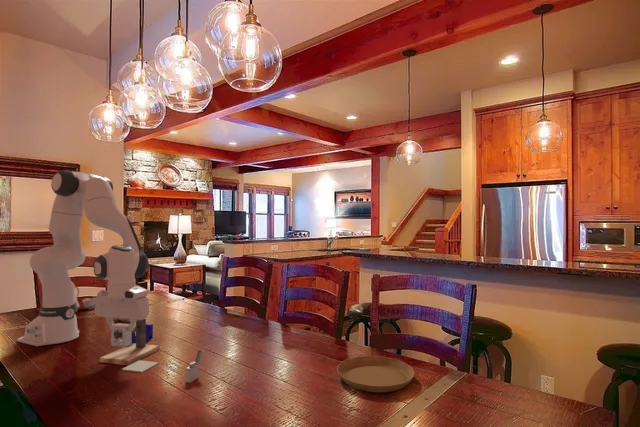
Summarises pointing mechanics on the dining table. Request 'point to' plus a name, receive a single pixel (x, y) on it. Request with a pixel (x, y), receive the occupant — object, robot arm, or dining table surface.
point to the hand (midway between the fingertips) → (121, 330)
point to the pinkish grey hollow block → (125, 335)
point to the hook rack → (132, 348)
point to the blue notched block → (148, 333)
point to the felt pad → (140, 366)
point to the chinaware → (85, 301)
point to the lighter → (194, 367)
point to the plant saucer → (375, 373)
